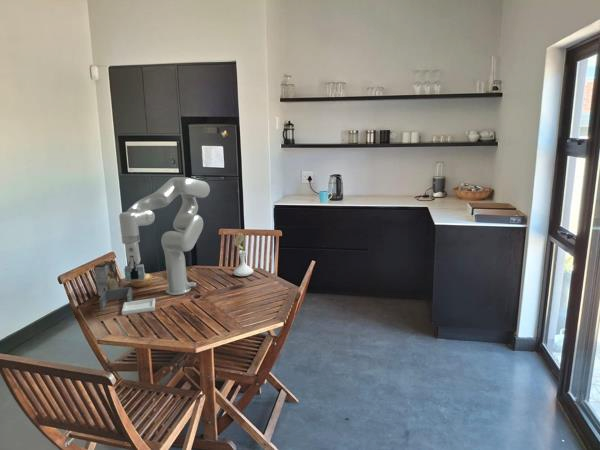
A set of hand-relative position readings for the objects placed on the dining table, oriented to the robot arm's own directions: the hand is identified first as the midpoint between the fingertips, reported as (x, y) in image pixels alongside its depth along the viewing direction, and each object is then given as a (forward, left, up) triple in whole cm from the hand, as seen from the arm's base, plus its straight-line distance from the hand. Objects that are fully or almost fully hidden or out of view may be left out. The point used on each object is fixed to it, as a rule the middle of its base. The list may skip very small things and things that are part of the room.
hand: (135, 276), depth 206 cm
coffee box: (+17, -30, -16) cm, 38 cm away
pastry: (+1, -37, -16) cm, 40 cm away
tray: (0, 0, -16) cm, 16 cm away
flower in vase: (-54, -31, -16) cm, 64 cm away
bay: (+11, -13, -16) cm, 23 cm away
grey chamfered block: (0, 0, -1) cm, 1 cm away
